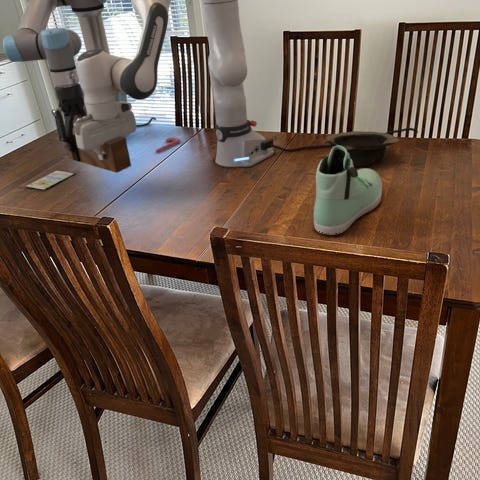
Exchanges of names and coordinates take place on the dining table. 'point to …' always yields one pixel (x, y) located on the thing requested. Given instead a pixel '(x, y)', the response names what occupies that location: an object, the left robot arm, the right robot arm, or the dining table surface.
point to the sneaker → (343, 192)
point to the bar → (114, 155)
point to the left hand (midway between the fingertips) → (85, 156)
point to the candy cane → (174, 139)
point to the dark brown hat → (363, 145)
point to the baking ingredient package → (50, 180)
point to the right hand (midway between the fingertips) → (112, 155)
